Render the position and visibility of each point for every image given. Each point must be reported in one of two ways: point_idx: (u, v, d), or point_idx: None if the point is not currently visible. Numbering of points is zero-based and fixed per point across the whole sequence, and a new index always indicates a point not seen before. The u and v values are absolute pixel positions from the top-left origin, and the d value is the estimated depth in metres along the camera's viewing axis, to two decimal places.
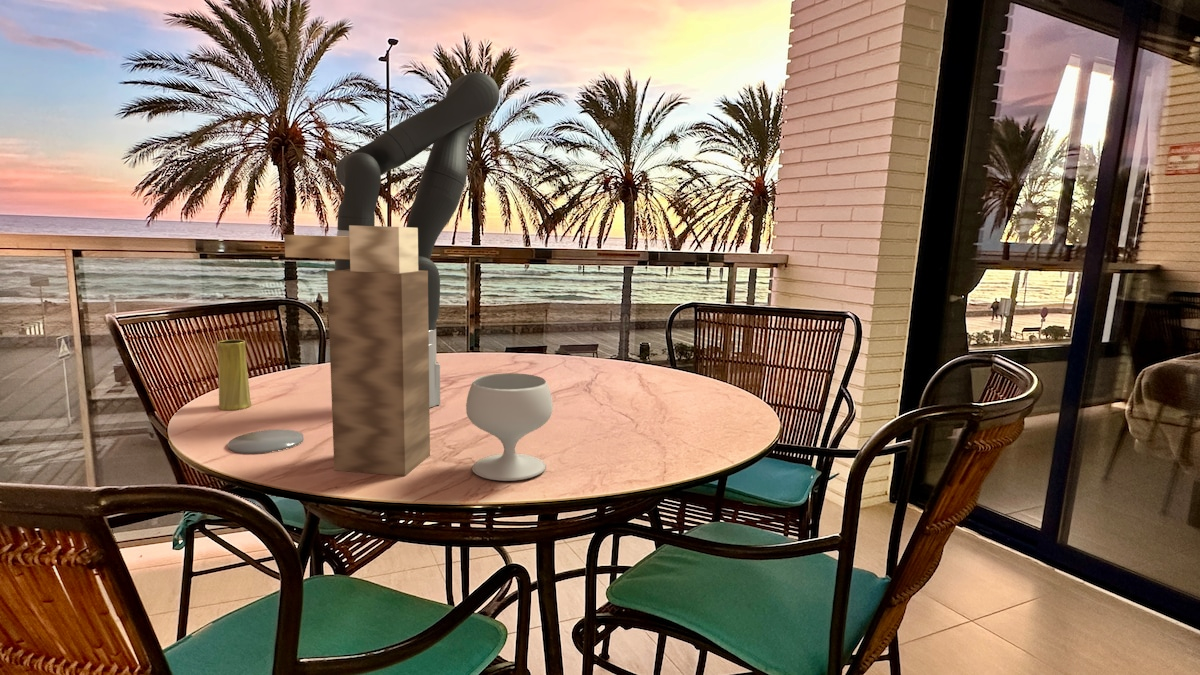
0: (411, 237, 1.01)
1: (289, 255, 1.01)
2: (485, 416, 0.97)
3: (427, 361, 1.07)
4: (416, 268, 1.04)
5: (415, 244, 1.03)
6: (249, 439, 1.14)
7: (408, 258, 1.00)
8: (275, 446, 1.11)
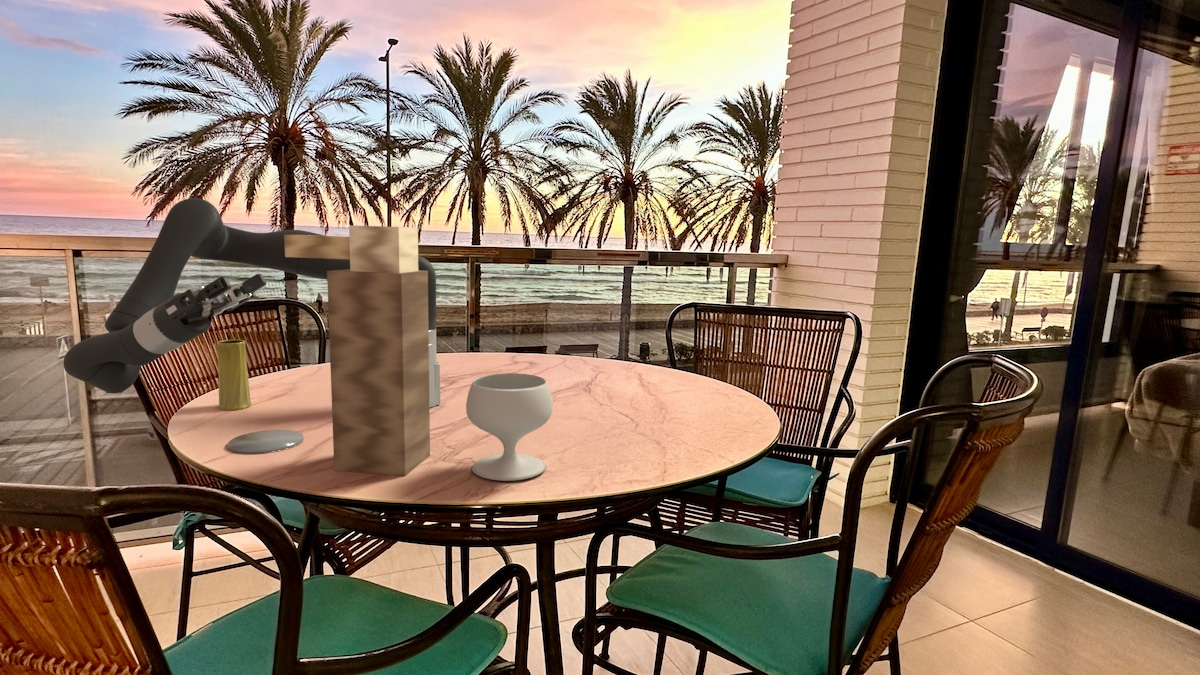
0: (411, 237, 1.01)
1: (289, 255, 1.01)
2: (485, 416, 0.97)
3: (427, 361, 1.07)
4: (416, 268, 1.04)
5: (415, 244, 1.03)
6: (249, 439, 1.14)
7: (408, 258, 1.00)
8: (275, 446, 1.11)
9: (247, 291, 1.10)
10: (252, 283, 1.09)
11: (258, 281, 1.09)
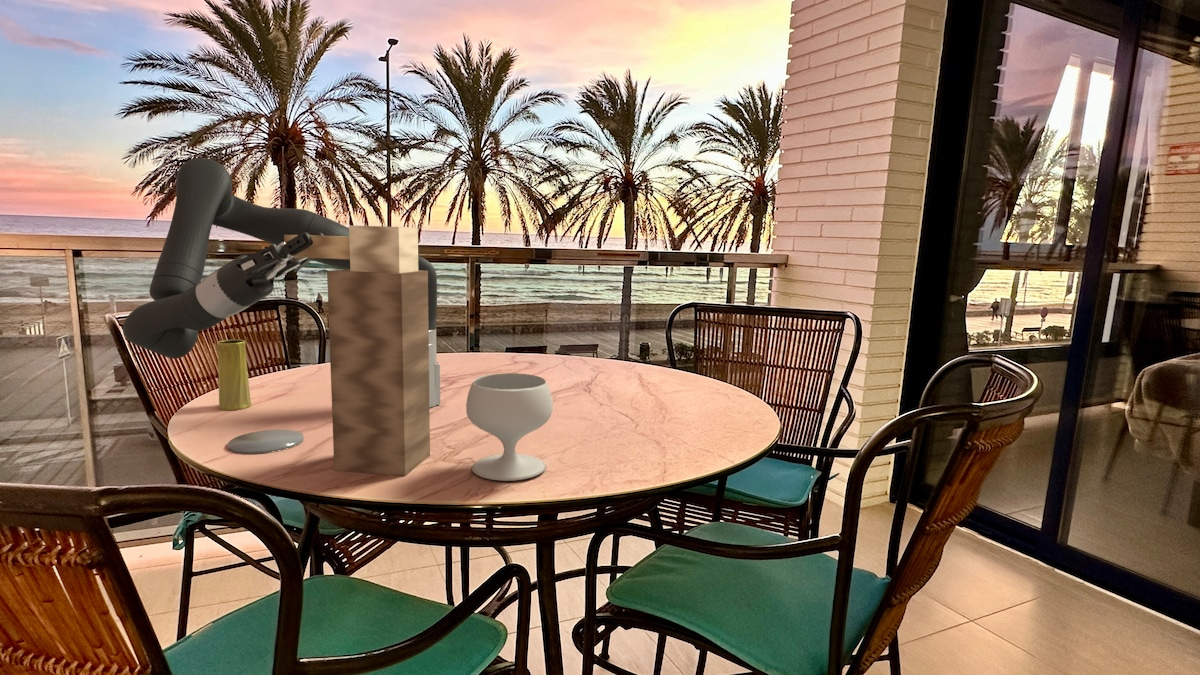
0: (411, 237, 1.01)
1: None
2: (485, 416, 0.97)
3: (427, 361, 1.07)
4: (416, 268, 1.04)
5: (415, 244, 1.03)
6: (249, 439, 1.14)
7: (408, 258, 1.00)
8: (275, 446, 1.11)
9: None
10: None
11: None
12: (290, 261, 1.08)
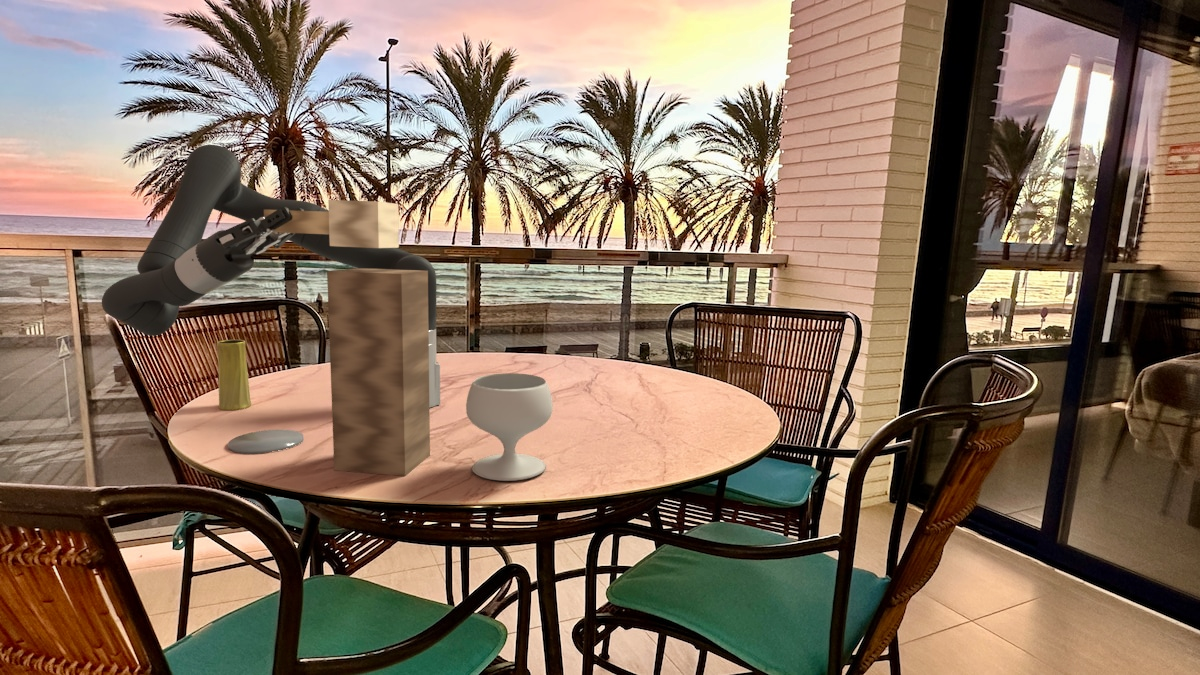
0: (391, 213, 1.01)
1: None
2: (485, 416, 0.97)
3: (427, 361, 1.07)
4: (396, 244, 1.03)
5: (395, 220, 1.03)
6: (249, 439, 1.14)
7: (388, 234, 1.00)
8: (275, 446, 1.11)
9: None
10: None
11: None
12: (271, 237, 1.08)
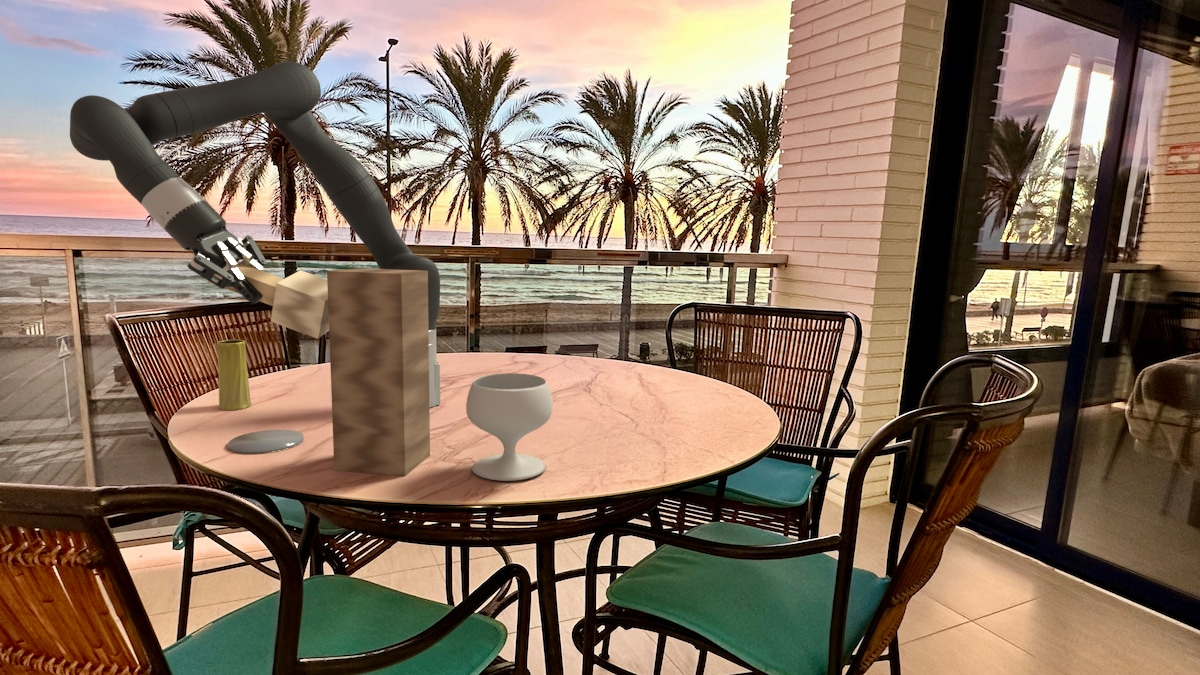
0: None
1: None
2: (485, 416, 0.97)
3: (427, 361, 1.07)
4: None
5: None
6: (249, 439, 1.14)
7: None
8: (275, 446, 1.11)
9: None
10: None
11: None
12: (243, 247, 1.07)
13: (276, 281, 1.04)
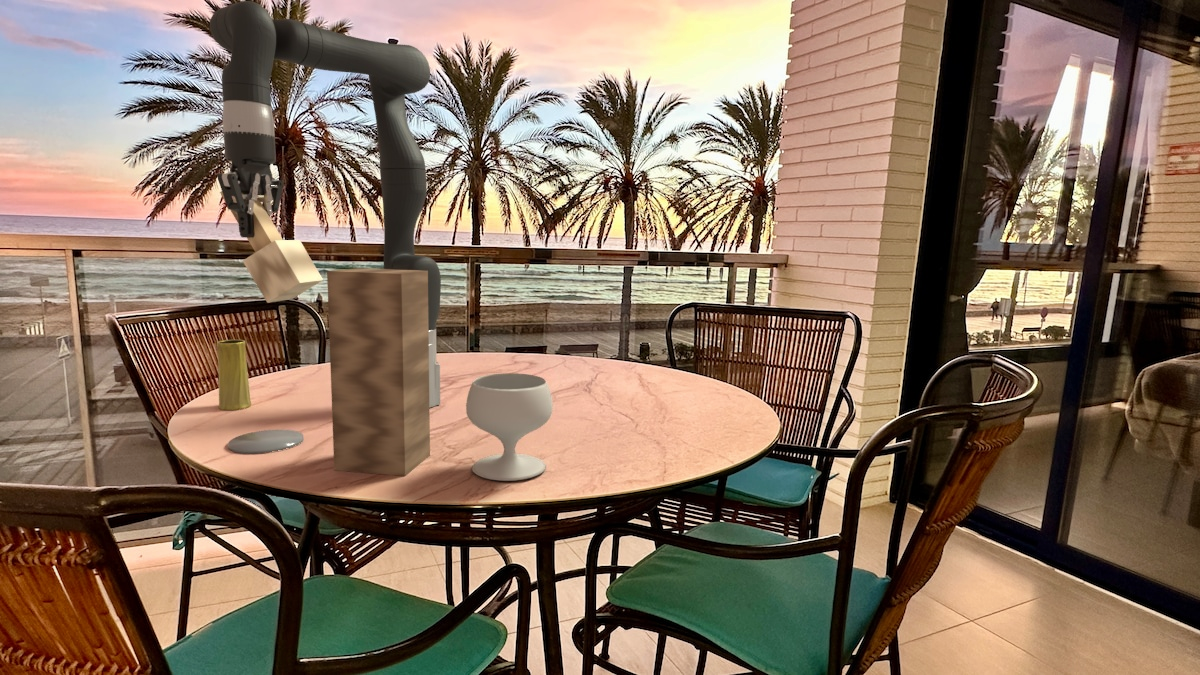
0: (308, 285, 1.10)
1: None
2: (485, 416, 0.97)
3: (427, 361, 1.07)
4: (292, 298, 1.13)
5: (308, 287, 1.12)
6: (249, 439, 1.14)
7: (289, 295, 1.09)
8: (275, 446, 1.11)
9: None
10: None
11: None
12: (269, 187, 1.12)
13: (274, 235, 1.08)
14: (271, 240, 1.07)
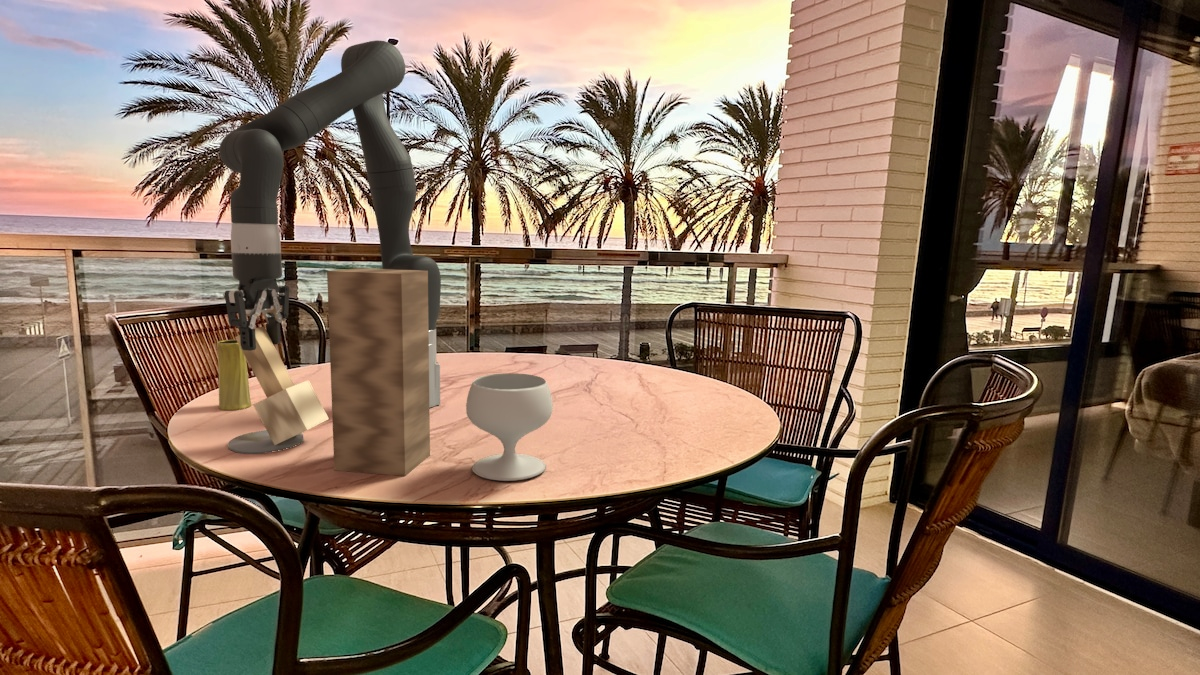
0: None
1: (238, 340, 1.11)
2: (485, 416, 0.97)
3: (427, 361, 1.07)
4: None
5: None
6: (249, 439, 1.14)
7: None
8: (275, 446, 1.11)
9: (268, 324, 1.14)
10: (272, 333, 1.14)
11: (271, 340, 1.15)
12: (277, 295, 1.15)
13: (284, 378, 1.13)
14: (282, 385, 1.12)
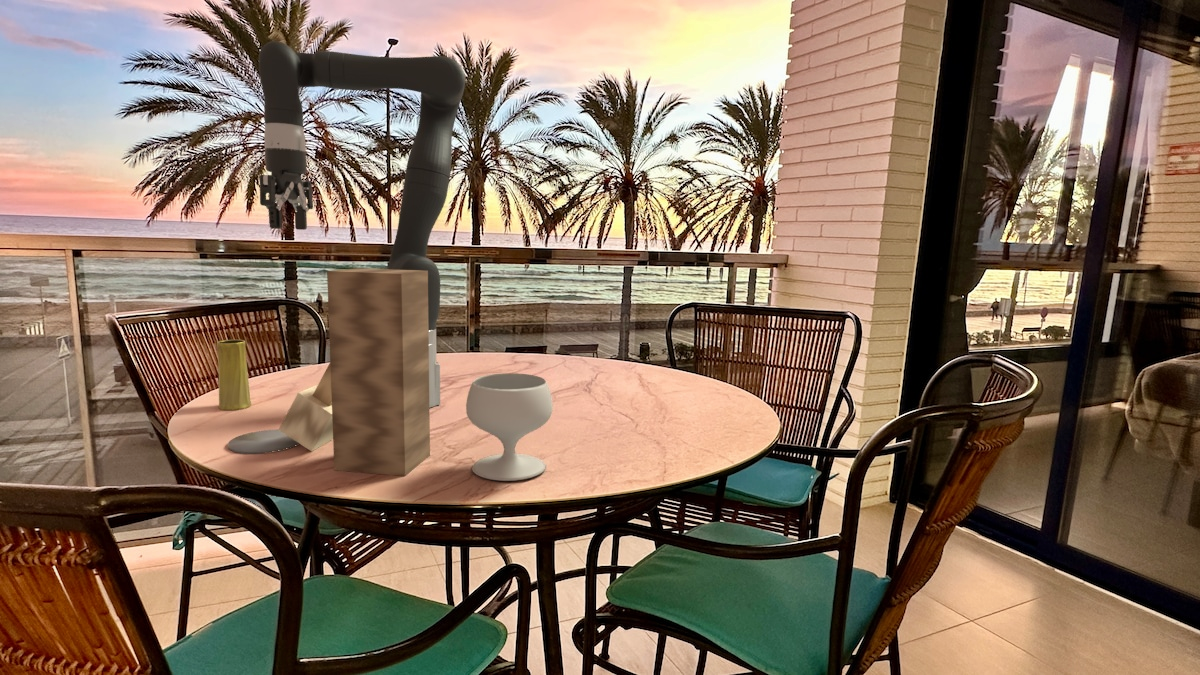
0: None
1: None
2: (485, 416, 0.97)
3: (427, 361, 1.07)
4: None
5: None
6: (249, 439, 1.14)
7: None
8: (275, 446, 1.11)
9: (296, 212, 1.36)
10: (300, 220, 1.36)
11: (299, 225, 1.36)
12: (302, 189, 1.36)
13: None
14: None
